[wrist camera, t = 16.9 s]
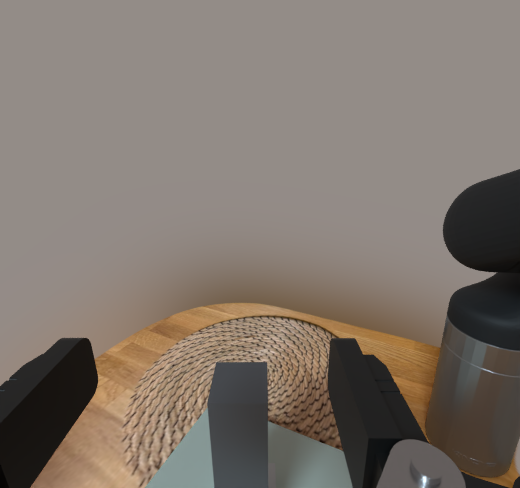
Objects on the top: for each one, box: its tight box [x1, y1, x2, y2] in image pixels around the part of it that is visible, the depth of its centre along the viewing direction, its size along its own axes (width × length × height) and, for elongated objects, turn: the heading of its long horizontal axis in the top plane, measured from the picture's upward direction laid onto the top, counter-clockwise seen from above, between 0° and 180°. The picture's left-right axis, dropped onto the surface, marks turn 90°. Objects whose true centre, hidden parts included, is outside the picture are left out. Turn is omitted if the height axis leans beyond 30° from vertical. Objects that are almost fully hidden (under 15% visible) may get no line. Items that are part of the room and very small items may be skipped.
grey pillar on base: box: [207, 362, 276, 488], centre depth 27 cm, size 9×6×16 cm, turn 179°
